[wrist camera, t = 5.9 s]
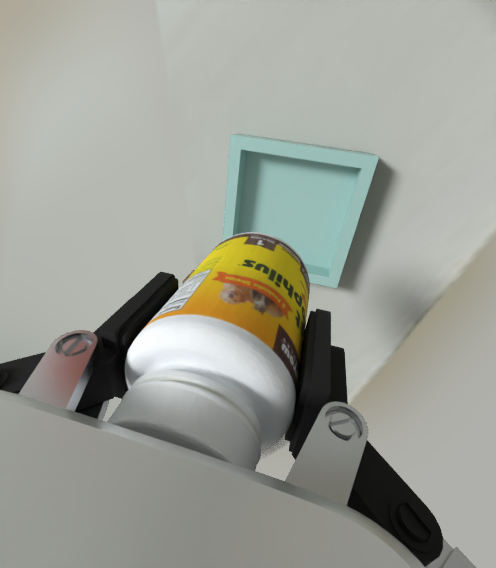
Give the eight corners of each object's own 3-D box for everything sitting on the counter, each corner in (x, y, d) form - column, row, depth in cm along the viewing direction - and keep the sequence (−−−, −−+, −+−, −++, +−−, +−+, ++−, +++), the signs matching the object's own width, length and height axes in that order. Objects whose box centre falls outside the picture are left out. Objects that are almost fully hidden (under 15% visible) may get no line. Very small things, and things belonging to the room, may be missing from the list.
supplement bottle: (332, 292, 15) (335, 531, 6) (250, 332, 18) (175, 537, 9) (267, 204, 13) (159, 361, 5) (189, 262, 16) (31, 429, 8)
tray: (238, 133, 26) (230, 134, 24) (374, 154, 24) (379, 156, 22) (227, 253, 32) (220, 262, 30) (336, 277, 30) (336, 288, 28)
